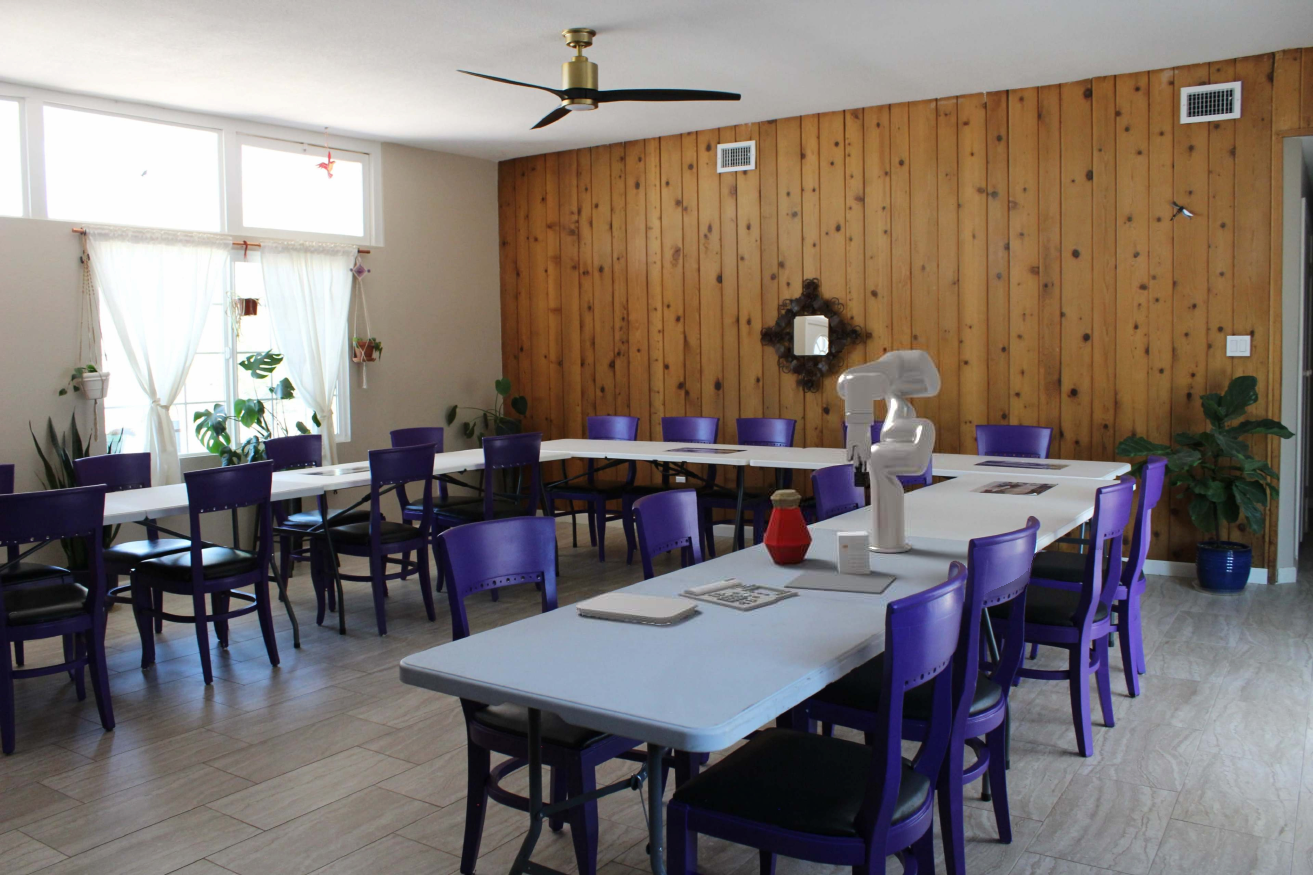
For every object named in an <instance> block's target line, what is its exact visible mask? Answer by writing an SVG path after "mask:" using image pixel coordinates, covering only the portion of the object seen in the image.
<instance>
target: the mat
mask: <svg viewBox="0 0 1313 875" xmlns="http://www.w3.org/2000/svg"><path fill="white" fill-rule="evenodd" d="M896 578H897V576H894V575H880V574H879V575H877V574H847V573H839V572H827V571H811V570H810V571H808V570H805V571H803V572H802V573H800V574H799V575H797V576H796V577H794V579H792V580H791V581H789V582H788V583H786V584H785V585H784V586H783V587H784V589H802V590H804V589H805V590H814V591H815V590H818V591H831V592H832V591H833V592H845V593H846V592H847V593H861V594H873V595H875V594H876V595H877V594H878V595H880V594H882V592H884V590H885V589H886V588H888V586H890V585H891V583H892V582H894V581H895V580H896Z"/></svg>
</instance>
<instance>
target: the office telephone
mask: <svg viewBox="0 0 1313 875" xmlns="http://www.w3.org/2000/svg"><path fill="white" fill-rule="evenodd" d="M758 589H760V590H761V589H762V590H767V591H771V592H776V593H775V594H771V593H766V592H765V593H763V592H761V591H760V592H759V591H755V590H758ZM798 594H799V593H798V590H793V589H790V588H785V587H784V588H783V587H778V586H773V585H766V584H761V583H753V584H748V585H747V584H746V583H743V582H741V581H740V580H738V579H736V578H734V577H733V578H730V579H725V580H721V581H717V582H713V583H710V584H705V585H701V586H697V587H693V588H688V589H685V590H684V591H683V592H678V593H677V595H678V597H679V596H680V597H683V598H688V599H690V600H694V601H695V600H696V601H700V602H705V603H708V604H714V605H717V606H721V607H727V608H730V609H734V610H738V611H742V612H747V611H751V610H753V609H757V608H758V609H759V608H761V607H765V606H768V605H771V604H774V603H776V601H777V602H778V601H781V600H784V599H787V598H791V597H794V596H798Z"/></svg>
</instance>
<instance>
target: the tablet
mask: <svg viewBox="0 0 1313 875" xmlns="http://www.w3.org/2000/svg"><path fill="white" fill-rule="evenodd" d="M698 607H699V602H698V601H697V600H696V601H695V600H692V599H680V598H671V597H662V596H652V595H645V594H643V595H641V594H633V593H624V592H609V593H604V594H601V595H598V596H596V597H593V598H591V599H588V600H585V601H583V602H580V603H577V604H576V606H575V608H576V610H577V611H578V614H579V613H580V614H583V615H589V616H588V617H590V616H596V617H595V618H598V617H602V618H601V619H606V618H609V619H608V620H614V619H619V620H618V621H622V620H628V621H627V622H630V621H636V622H635V623H638V622H646V623H654V624H667V623H671V624H673V623H672V622H674V621H676V620H678V619H680V620H682V619H683V617H684V618H686V617H688V616H690V615H692V614H694V613H695V612H696V609H697V608H698ZM580 614H579V615H580ZM583 615H582V616H583ZM687 615H688V616H687ZM685 616H686V617H685ZM681 618H682V619H681ZM678 621H679V620H678ZM676 622H677V621H676ZM646 623H645V624H646ZM674 623H675V622H674Z"/></svg>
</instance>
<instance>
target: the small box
mask: <svg viewBox="0 0 1313 875" xmlns="http://www.w3.org/2000/svg"><path fill="white" fill-rule="evenodd" d="M869 538H870V537H869V534H868V532H867V531H865V530H863V531H862V530H861V531H837V532H836V553H837V571H838V573H847V574H863V575H871V570H870V569H871V568H870V566H871V565H870V564H871V563H870V550H869V543H870V539H869Z"/></svg>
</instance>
